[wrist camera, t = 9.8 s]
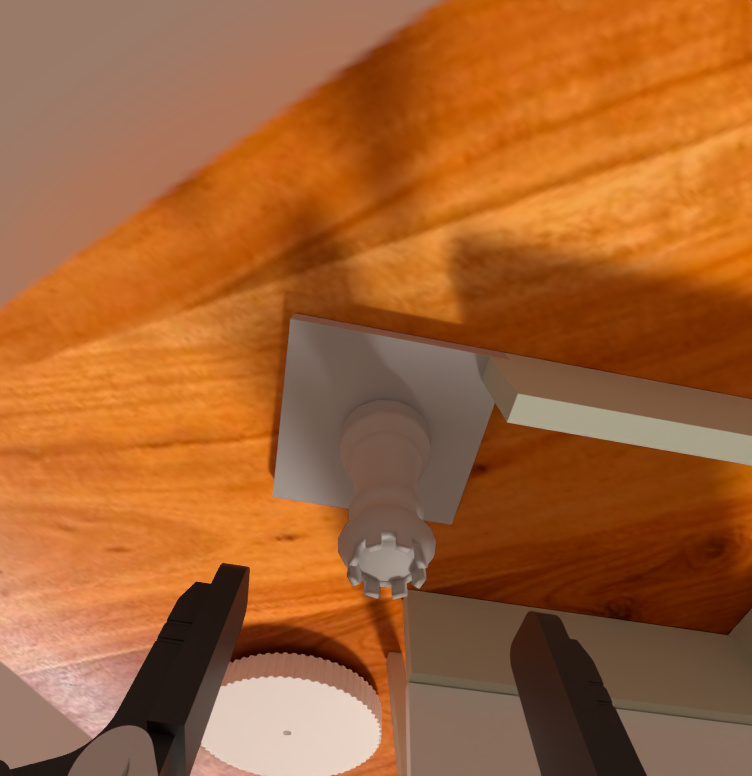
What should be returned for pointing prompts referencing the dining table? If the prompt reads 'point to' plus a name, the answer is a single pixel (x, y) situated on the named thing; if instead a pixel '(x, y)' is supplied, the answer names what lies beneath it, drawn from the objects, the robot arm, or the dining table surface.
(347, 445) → the rook chess piece
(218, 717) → the plastic lid
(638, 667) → the frame
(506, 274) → the dining table surface
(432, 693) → the lid propped
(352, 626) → the dining table surface
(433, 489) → the slate tile
